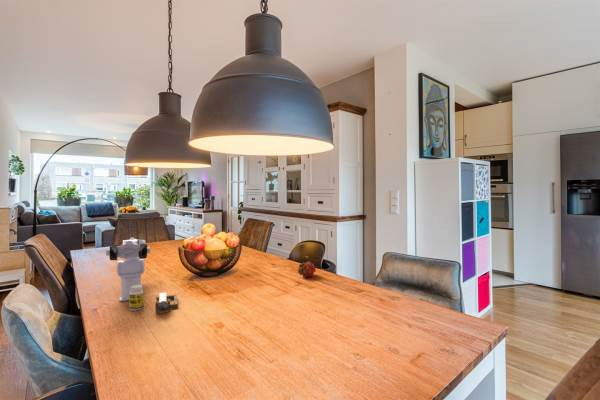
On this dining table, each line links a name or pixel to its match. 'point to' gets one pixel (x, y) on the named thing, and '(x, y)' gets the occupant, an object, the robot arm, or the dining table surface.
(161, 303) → the lock pin
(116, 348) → the dining table surface
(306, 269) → the dragon fruit
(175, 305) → the mount
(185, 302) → the dining table surface
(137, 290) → the supplement bottle
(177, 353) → the dining table surface
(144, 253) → the robot arm
